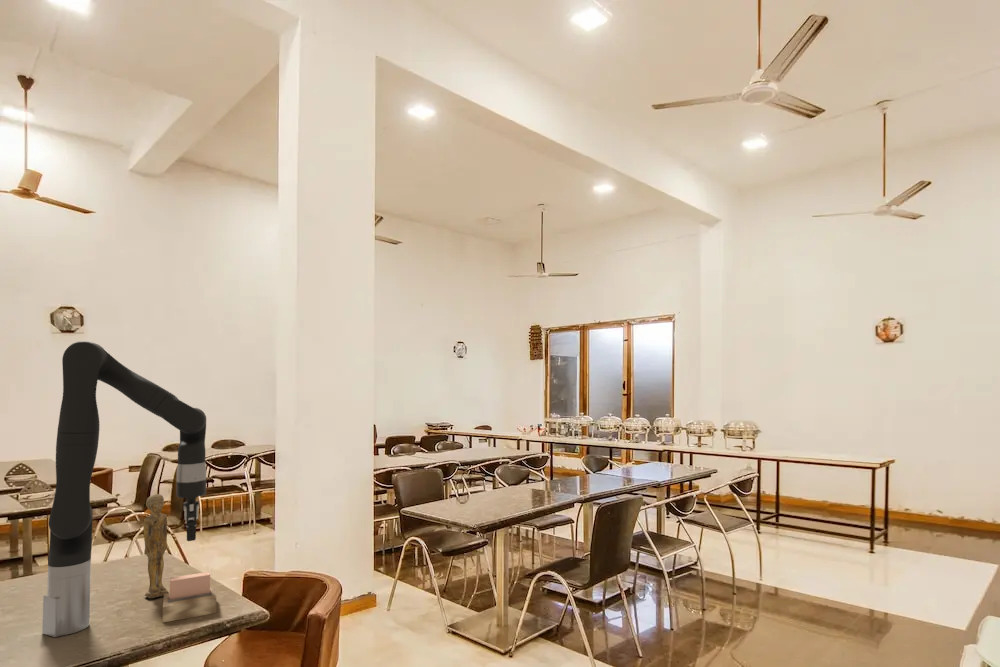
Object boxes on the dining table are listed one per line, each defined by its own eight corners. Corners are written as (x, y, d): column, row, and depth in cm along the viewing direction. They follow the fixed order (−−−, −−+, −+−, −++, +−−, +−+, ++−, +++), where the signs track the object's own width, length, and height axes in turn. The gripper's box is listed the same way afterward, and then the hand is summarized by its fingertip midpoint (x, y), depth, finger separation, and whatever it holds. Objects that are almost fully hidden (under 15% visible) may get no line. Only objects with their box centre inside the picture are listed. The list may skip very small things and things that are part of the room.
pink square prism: (169, 616, 166) (169, 580, 167) (169, 612, 169) (170, 577, 169) (209, 609, 171) (210, 574, 171) (209, 605, 173) (209, 571, 174)
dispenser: (162, 622, 162) (162, 604, 162) (163, 608, 171) (164, 591, 172) (216, 612, 168) (216, 595, 168) (214, 599, 177) (214, 583, 178)
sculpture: (148, 601, 177) (150, 497, 179) (138, 597, 181) (140, 495, 183) (172, 594, 182) (173, 493, 184) (162, 590, 186) (164, 491, 188)
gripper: (207, 481, 167) (206, 541, 166) (205, 474, 180) (205, 529, 179) (176, 484, 164) (175, 545, 163) (176, 476, 177) (176, 533, 176)
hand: (191, 537), depth 171 cm, fingers open, 8 cm apart
